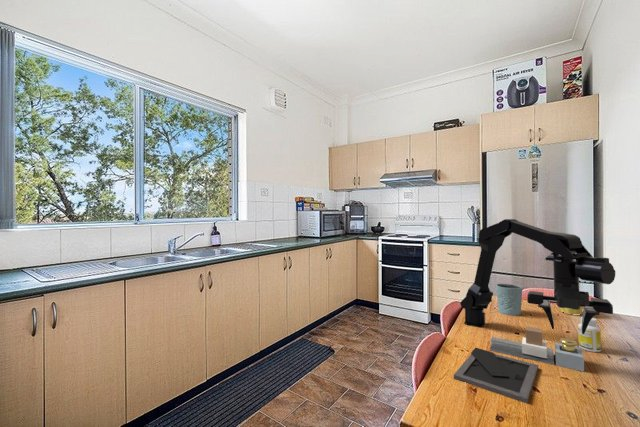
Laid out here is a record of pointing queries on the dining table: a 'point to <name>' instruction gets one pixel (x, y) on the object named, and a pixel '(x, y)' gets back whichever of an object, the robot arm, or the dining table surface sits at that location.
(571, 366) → the grey notched block
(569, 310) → the plant pot
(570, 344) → the button
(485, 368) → the picture frame
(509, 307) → the teal embossed planter
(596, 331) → the supplement bottle
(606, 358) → the dining table surface
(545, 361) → the rail
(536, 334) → the carriage
